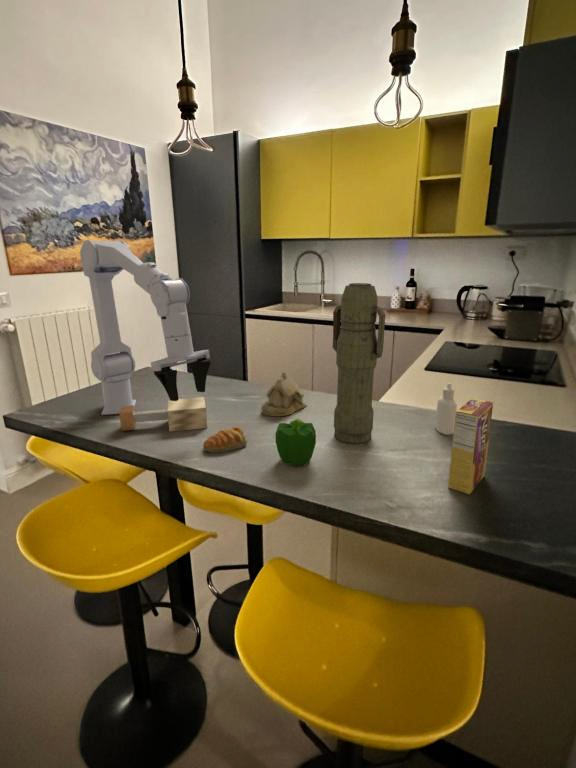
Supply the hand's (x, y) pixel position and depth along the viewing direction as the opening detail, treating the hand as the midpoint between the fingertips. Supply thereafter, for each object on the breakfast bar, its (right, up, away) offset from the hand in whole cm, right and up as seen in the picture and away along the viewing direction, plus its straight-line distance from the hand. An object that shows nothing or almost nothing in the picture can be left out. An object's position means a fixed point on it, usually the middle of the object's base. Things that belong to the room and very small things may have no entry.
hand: (188, 396), depth 96 cm
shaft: (-10, -7, +10) cm, 16 cm away
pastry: (+9, -12, 0) cm, 14 cm away
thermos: (+38, -10, +4) cm, 39 cm away
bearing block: (-3, -7, +12) cm, 14 cm away
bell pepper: (+24, -14, -7) cm, 28 cm away
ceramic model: (+21, -4, +23) cm, 31 cm away
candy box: (+56, -16, -15) cm, 60 cm away
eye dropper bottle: (+60, -9, +8) cm, 61 cm away
